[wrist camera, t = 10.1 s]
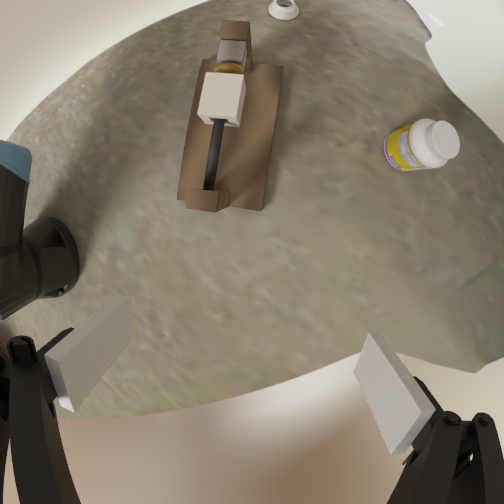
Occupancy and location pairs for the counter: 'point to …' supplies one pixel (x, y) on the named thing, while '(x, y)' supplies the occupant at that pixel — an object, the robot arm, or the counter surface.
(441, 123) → the supplement bottle
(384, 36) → the counter surface
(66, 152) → the counter surface
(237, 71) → the brown stand with rod
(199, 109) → the sleeve
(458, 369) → the counter surface
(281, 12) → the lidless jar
